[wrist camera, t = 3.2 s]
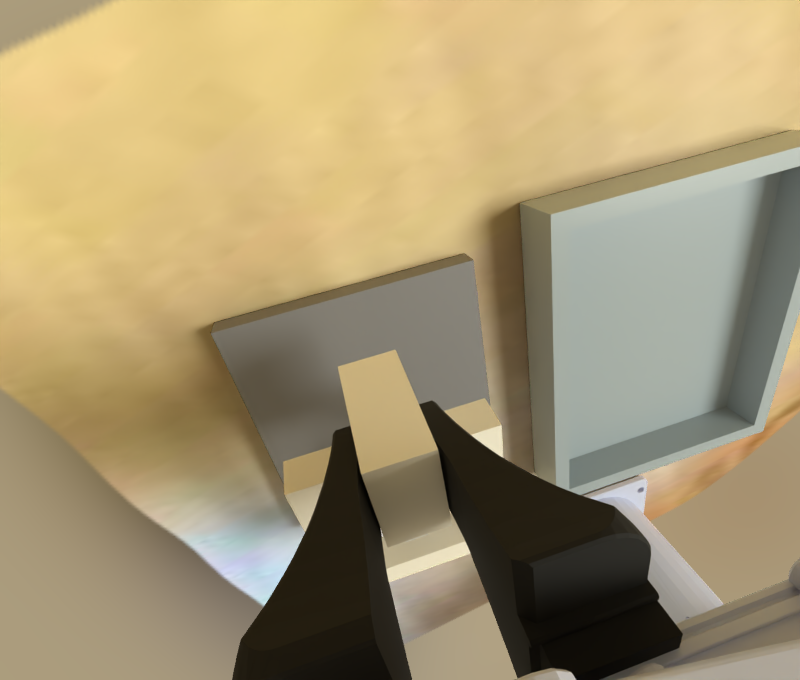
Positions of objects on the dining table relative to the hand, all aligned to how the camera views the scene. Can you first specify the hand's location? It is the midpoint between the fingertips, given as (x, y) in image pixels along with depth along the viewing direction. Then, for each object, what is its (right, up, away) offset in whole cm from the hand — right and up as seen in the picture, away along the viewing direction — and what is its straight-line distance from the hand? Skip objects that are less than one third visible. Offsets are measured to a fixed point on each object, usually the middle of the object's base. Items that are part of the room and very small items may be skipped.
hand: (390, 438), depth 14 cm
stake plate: (-1, 0, +8) cm, 8 cm away
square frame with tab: (0, -2, +4) cm, 4 cm away
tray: (+14, +4, +9) cm, 17 cm away
